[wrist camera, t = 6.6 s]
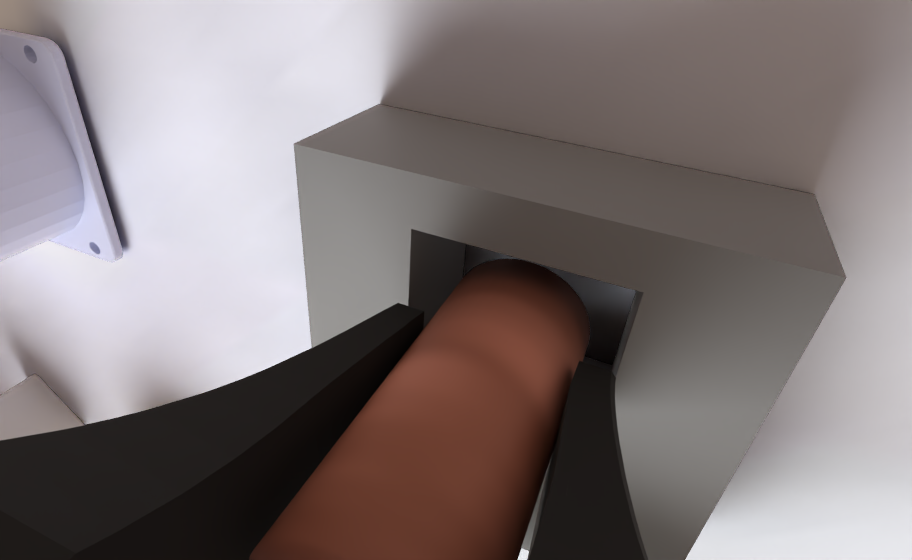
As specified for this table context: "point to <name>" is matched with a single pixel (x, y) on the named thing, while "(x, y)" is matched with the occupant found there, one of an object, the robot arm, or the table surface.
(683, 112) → the table surface
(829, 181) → the table surface
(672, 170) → the socket block
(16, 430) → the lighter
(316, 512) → the peg
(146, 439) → the robot arm
